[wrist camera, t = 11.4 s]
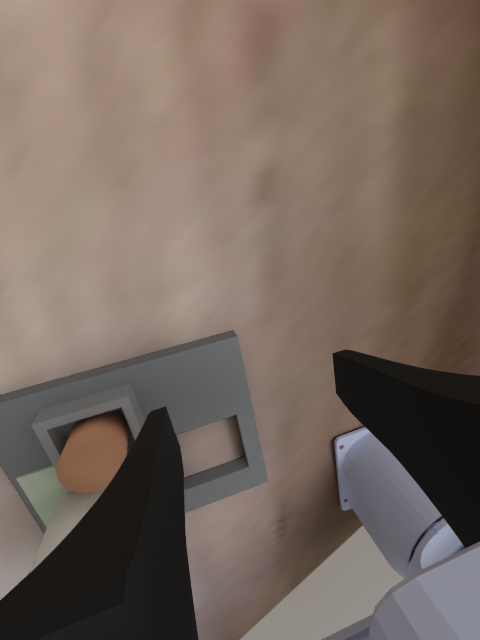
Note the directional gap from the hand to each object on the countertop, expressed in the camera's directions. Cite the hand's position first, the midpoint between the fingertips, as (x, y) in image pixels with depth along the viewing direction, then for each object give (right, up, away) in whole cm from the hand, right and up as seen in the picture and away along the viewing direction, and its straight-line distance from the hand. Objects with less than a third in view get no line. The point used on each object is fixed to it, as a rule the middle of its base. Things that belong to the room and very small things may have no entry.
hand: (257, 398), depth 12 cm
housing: (-8, -6, +11) cm, 15 cm away
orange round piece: (-10, -4, +8) cm, 13 cm away
